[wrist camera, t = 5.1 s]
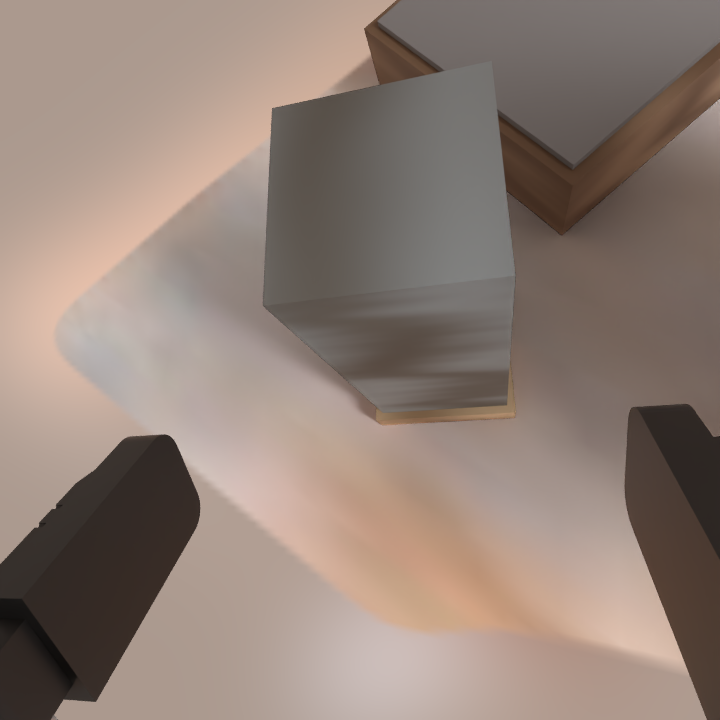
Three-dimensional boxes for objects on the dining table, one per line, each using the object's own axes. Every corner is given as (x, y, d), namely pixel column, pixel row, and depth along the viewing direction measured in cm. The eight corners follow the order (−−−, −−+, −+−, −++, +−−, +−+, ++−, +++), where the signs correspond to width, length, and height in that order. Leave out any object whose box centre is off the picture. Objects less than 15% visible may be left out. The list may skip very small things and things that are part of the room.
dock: (590, -94, 28) (604, -189, 24) (817, 13, 23) (878, -84, 19) (380, 88, 28) (362, 23, 24) (561, 235, 23) (573, 181, 19)
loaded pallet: (502, 293, 23) (505, 46, 11) (514, 417, 21) (534, 288, 9) (379, 307, 24) (260, 100, 12) (382, 425, 23) (248, 321, 11)
